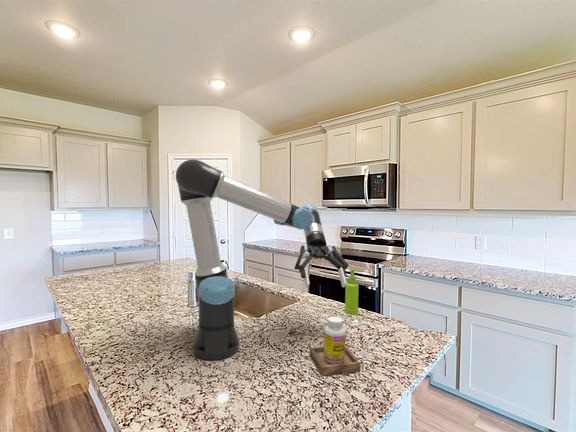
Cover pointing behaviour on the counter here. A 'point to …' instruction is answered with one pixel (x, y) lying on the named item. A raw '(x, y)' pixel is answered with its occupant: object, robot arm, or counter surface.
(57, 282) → the counter surface
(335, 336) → the supplement bottle
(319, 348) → the walnut tray
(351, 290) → the soap dispenser
